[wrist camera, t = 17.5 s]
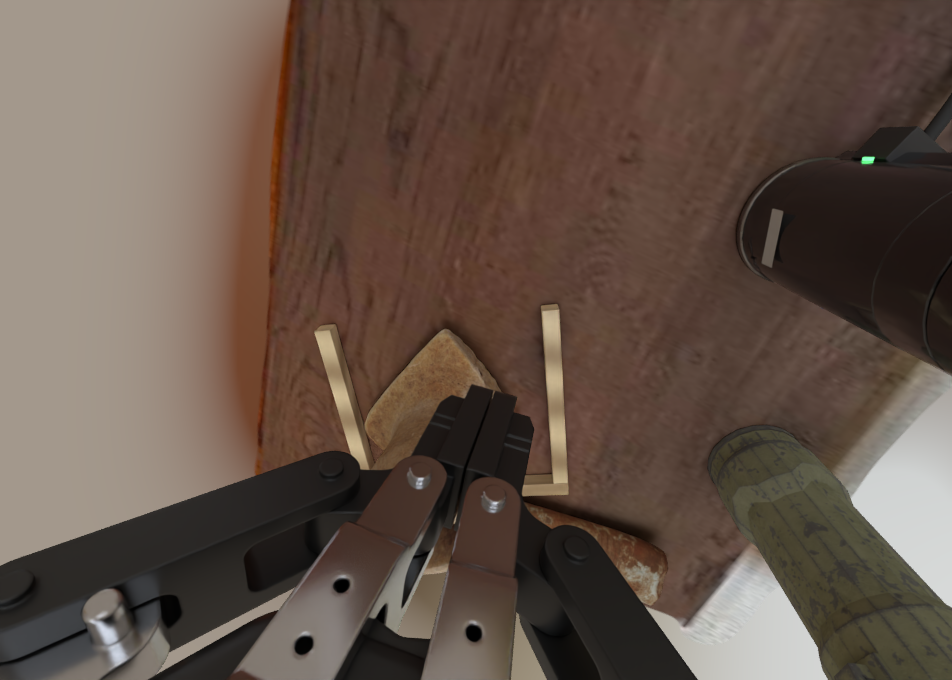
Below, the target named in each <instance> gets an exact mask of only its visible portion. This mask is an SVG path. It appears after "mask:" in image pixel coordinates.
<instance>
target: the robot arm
mask: <svg viewBox="0 0 952 680" xmlns="http://www.w3.org/2000/svg"><path fill="white" fill-rule="evenodd" d="M951 119H952V93H951V95H950V96H949V98H948V99H947V101H946V102H945V104H944V105H943V106H942V108H941V109H940V110H939V112H938V113H937V114H936V116H935V117H934V118H933V120H932V121H931V122H930V124H929V125H928V126H927V128H926V129H925V130H924V131H923V130H922V129H921V128H919V127H918V126H910V127H888V128H880V129H879V130H878V131H877V132H876V133H875V134H874V135H873V136H872V137H871V138H870V139H869V140H868V141H867V142H866V143H865V144H864V145H863V146H862V147H861V148H860V149H859V150H858V151H846V152H844V153H843V154H841V155H839V156H838V157H835V158H830V157H816V158H809V159H804V160H800V161H797V162H794V163H792V164H789V165H787V166H785V167H783V168H782V169H780V170H778V171H777V172H775V173H774V174H772V175H771V176H770V177H768V178H767V179H766V180H765V181H764V182H763V183H762V184H761V185H760V186H759V187H758V188H757V189H756V190H755V191H754V192H753V194H752V195H751V196H750V198H749V199H748V201H747V203H746V204H745V206H744V208H743V210H742V213H741V215H740V218H739V222H738V226H737V246H738V251H739V254H740V256H741V258H742V260H743V262H744V263H745V264H746V266H747V267H748V268H749V269H750V270H751V271H752V272H754V273H755V274H757V275H758V276H760V277H762V278H764V279H766V280H768V281H771V282H773V283H776V284H778V285H780V286H782V287H784V288H786V289H787V290H789V291H791V292H793V293H795V294H797V295H799V296H801V297H803V298H804V299H806V300H808V301H810V302H812V303H814V304H816V305H818V306H820V307H821V308H823V309H825V310H827V311H829V312H831V313H833V314H835V315H837V316H839V317H840V318H842V319H844V320H846V321H848V322H850V323H852V324H854V325H856V326H857V327H859V328H861V329H863V330H865V331H867V332H869V333H871V334H873V335H874V336H876V337H878V338H880V339H882V340H884V341H886V342H888V343H890V344H892V345H893V346H895V347H897V348H899V349H901V350H903V351H905V352H907V353H909V354H911V355H913V356H915V357H916V358H918V359H920V360H922V361H924V362H926V363H928V364H930V365H932V366H934V367H935V368H937V369H939V370H941V371H943V372H945V373H947V374H949V375H951V376H952V153H947V152H946V151H945V150H944V149H942V148H941V147H940V146H939V145H938V144H937V143H936V142H935V140H936V139H937V137H938V136H939V135H940V133H941V132H942V131H943V129H944V128H945V127H946V126H947V124H948V123H949V122H950V120H951ZM493 392H494V390H491V389H488V388H484V387H481V386H477V385H473V384H471V386H470V388H469V390H468V393H467V395H466V397H465V398H461V397H458V396H454V395H450V396H449V397H447V398H446V399H444V400H443V401H441V402H440V403H439V405H438V407H437V409H436V411H435V413H434V415H433V416H432V418H431V420H430V422H429V424H428V425H427V427H426V429H425V431H424V433H423V434H422V436H421V438H420V440H419V442H418V443H417V445H416V447H415V449H414V451H413V453H412V454H411V456H409V457H406V458H404V459H402V460H401V461H399V462H398V463H397V464H396V466H395V467H394V468H392V469H387V470H364V469H360V464H359V462H358V461H357V460H356V458H354V457H353V456H352V455H350V454H348V453H345V452H341V451H328V452H324V453H320V454H317V455H314V456H311V457H309V458H306V459H303V460H300V461H297V462H294V463H291V464H288V465H286V466H283V467H280V468H277V469H274V470H271V471H268V472H265V473H263V474H260V475H257V476H254V477H251V478H248V479H245V480H242V481H240V482H237V483H234V484H231V485H228V486H225V487H223V488H219V489H217V490H214V491H211V492H208V493H205V494H202V495H199V496H196V497H194V498H191V499H188V500H185V501H182V502H179V503H176V504H173V505H171V506H168V507H165V508H162V509H159V510H156V511H153V512H150V513H147V514H145V515H142V516H139V517H136V518H133V519H130V520H127V521H124V522H122V523H119V524H116V525H113V526H110V527H107V528H104V529H101V530H99V531H96V532H93V533H90V534H87V535H84V536H81V537H79V538H76V539H73V540H70V541H67V542H64V543H61V544H58V545H55V546H52V547H50V548H47V549H44V550H41V551H38V552H35V553H32V554H29V555H27V556H24V557H21V558H18V559H15V560H13V561H10V562H8V563H6V564H3V565H1V566H0V680H511V670H512V657H513V645H514V632H515V621H516V612H517V613H518V614H519V617H520V623H521V626H522V628H523V630H524V632H525V635H526V637H527V639H528V641H529V643H530V645H531V647H532V649H533V651H534V653H535V655H536V658H537V660H538V661H539V664H540V666H541V668H542V670H543V672H544V674H545V676H546V678H547V680H697V678H696V677H695V675H694V674H693V673H692V672H691V670H690V668H689V667H688V666H687V665H686V663H685V662H684V660H683V659H682V657H681V656H680V655H679V653H678V652H677V650H676V649H675V648H674V646H673V645H672V644H671V642H670V641H669V639H668V638H667V637H666V635H665V634H664V632H663V631H662V630H661V628H660V627H659V626H658V624H657V623H656V621H655V620H654V619H653V617H652V616H651V614H650V613H649V612H648V611H647V609H646V608H645V606H644V605H643V603H642V602H641V601H640V599H639V598H638V596H637V595H636V594H635V592H634V591H633V590H632V588H631V587H630V585H629V584H628V583H627V581H626V580H625V578H624V577H623V576H622V574H621V573H620V571H619V570H618V569H617V567H616V566H615V565H614V563H613V562H612V560H611V559H610V558H609V556H608V555H607V553H606V552H605V551H604V549H603V548H602V547H601V545H600V544H599V542H598V541H597V540H596V539H595V538H594V537H593V536H592V535H591V534H589V533H588V532H587V531H585V530H583V529H581V528H579V527H576V526H572V525H560V526H557V527H554V528H553V529H552V528H550V527H548V526H547V525H545V524H544V523H542V522H541V521H539V520H538V519H536V518H535V517H534V516H533V515H532V514H531V513H530V511H529V510H528V509H527V507H526V506H525V503H524V501H523V497H522V489H523V484H524V479H525V474H526V469H527V463H528V458H529V453H530V448H531V442H532V438H533V433H534V427H533V425H532V422H531V419H530V417H528V416H525V415H521V414H518V413H514V408H515V404H516V400H517V397H516V396H513V395H509V394H506V393H502V392H499V391H495V393H494V395H493ZM492 397H493V398H492ZM457 511H458V512H457ZM456 514H457V516H456ZM455 517H456V521H455V526H454V530H455V531H457V533H456V538H455V542H454V546H453V550H452V554H451V558H450V561H449V565H448V569H447V573H446V577H445V582H444V586H443V590H442V594H441V598H440V602H439V607H438V610H437V615H436V619H435V623H434V627H433V631H432V635H431V639H421V638H406V637H402V636H399V635H398V634H397V633H398V629H399V626H400V624H401V621H402V618H403V616H404V613H405V611H406V609H407V607H408V605H409V603H410V600H411V599H412V597H413V594H414V592H415V590H416V588H417V586H418V583H419V581H420V579H421V577H422V575H423V573H424V571H425V569H426V567H427V565H428V562H429V560H430V558H431V556H432V554H433V551H434V546H435V545H436V543H437V541H438V538H439V536H440V533H441V530H442V528H443V527H445V528H448V529H452V526H453V523H454V520H455ZM294 587H295V589H294V590H293V591H292V593H291V594H290V596H289V597H288V598H287V600H286V601H285V602H284V604H283V605H282V606H281V608H280V609H279V610H277V611H274V612H271V613H268V614H265V615H263V616H261V617H258V618H256V619H254V620H252V621H250V622H249V623H247V624H245V625H243V626H241V627H240V628H238V629H236V630H234V631H233V632H231V633H229V634H228V635H226V636H224V637H222V638H220V639H219V640H217V641H215V642H213V643H212V644H210V645H208V646H206V647H204V648H202V649H201V650H199V651H197V652H196V653H194V654H192V655H190V656H188V657H187V658H185V659H183V660H181V661H180V662H178V663H176V664H174V665H172V666H171V667H169V668H167V669H165V670H164V671H162V672H160V673H158V674H157V672H158V671H159V670H160V669H161V667H162V665H163V664H164V662H165V660H166V658H167V656H168V653H169V652H171V651H172V650H175V649H176V648H179V647H181V646H182V645H184V644H186V643H188V642H190V641H192V640H194V639H196V638H198V637H200V636H202V635H204V634H206V633H207V632H209V631H211V630H213V629H215V628H217V627H219V626H221V625H223V624H225V623H227V622H229V621H231V620H233V619H235V618H236V617H239V616H240V615H242V614H244V613H246V612H248V611H250V610H252V609H254V608H256V607H258V606H260V605H262V604H263V603H265V602H268V601H269V600H271V599H273V598H275V597H277V596H279V595H281V594H283V593H285V592H287V591H289V590H291V589H293V588H294ZM156 674H157V675H156Z"/></svg>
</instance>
